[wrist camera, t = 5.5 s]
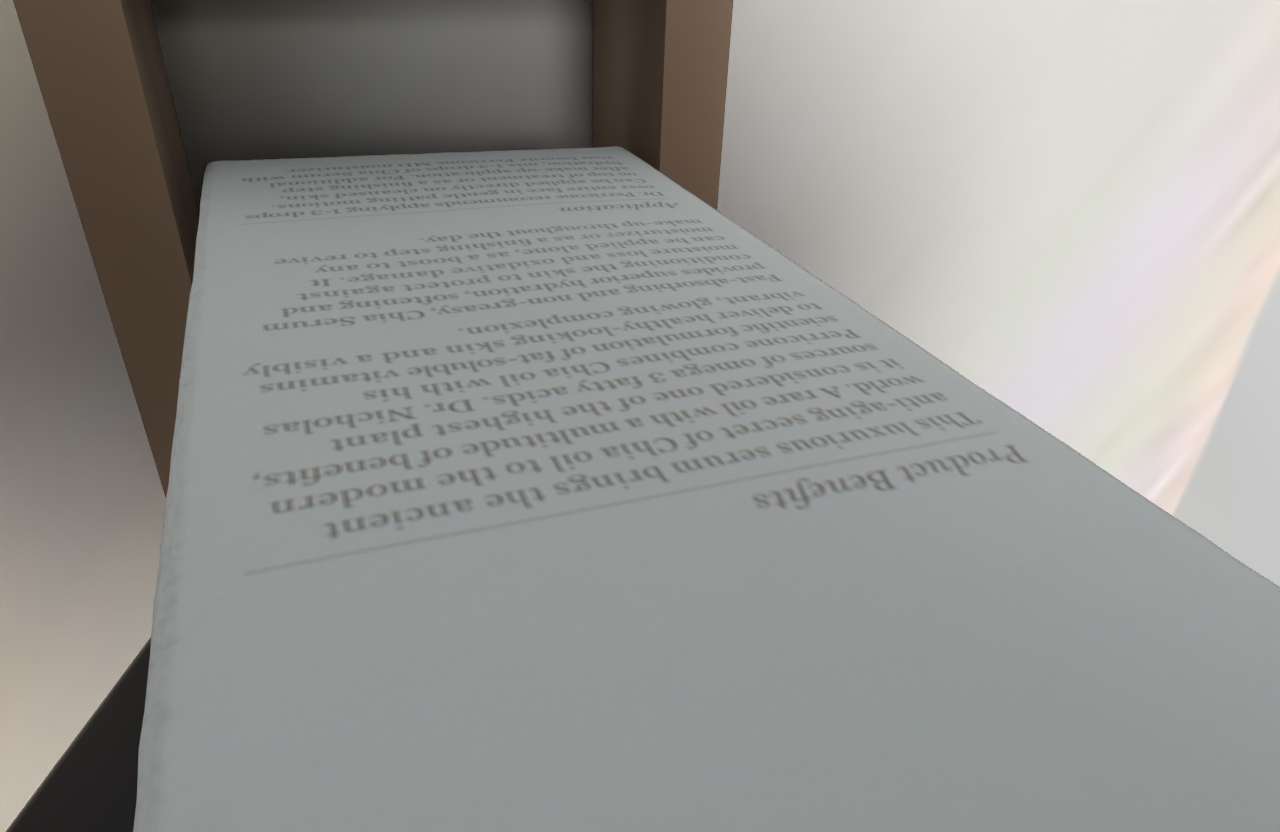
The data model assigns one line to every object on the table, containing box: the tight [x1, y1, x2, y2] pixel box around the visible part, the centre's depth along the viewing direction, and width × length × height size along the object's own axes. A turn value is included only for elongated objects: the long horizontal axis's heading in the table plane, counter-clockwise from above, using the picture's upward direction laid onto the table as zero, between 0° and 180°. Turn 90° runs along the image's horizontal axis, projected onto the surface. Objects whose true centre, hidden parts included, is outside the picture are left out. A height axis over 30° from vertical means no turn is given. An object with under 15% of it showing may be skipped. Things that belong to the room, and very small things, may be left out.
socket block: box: [13, 0, 733, 498], centre depth 14 cm, size 8×10×3 cm
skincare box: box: [133, 146, 1280, 832], centre depth 9 cm, size 6×4×12 cm
